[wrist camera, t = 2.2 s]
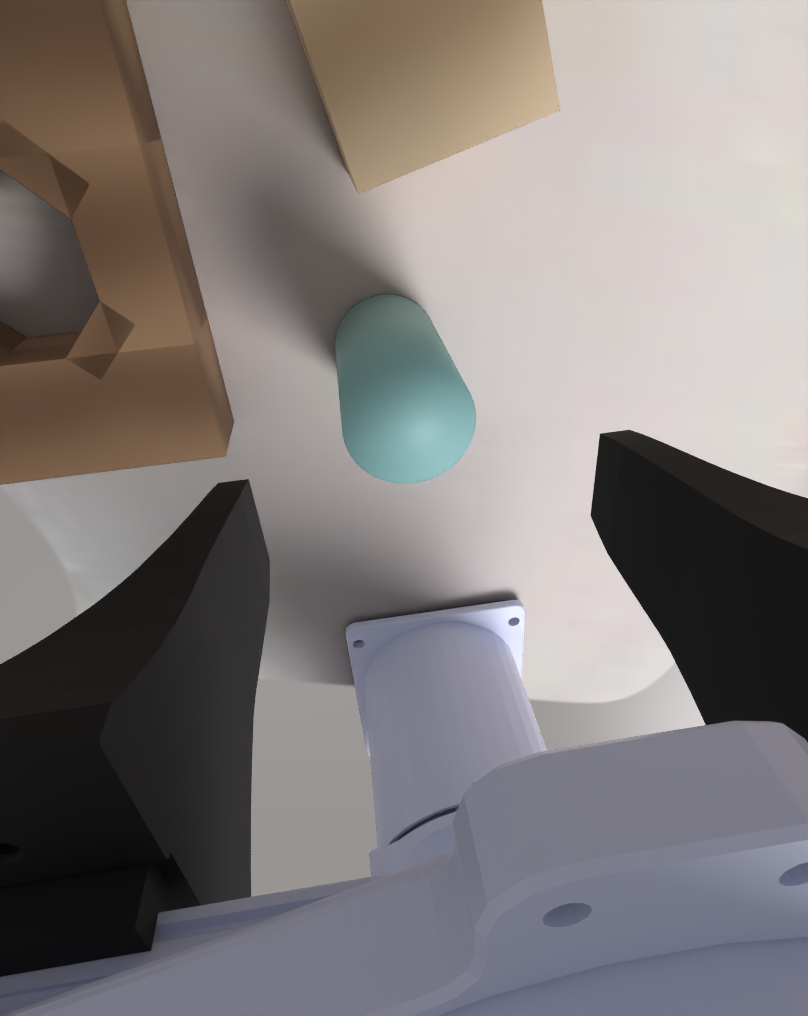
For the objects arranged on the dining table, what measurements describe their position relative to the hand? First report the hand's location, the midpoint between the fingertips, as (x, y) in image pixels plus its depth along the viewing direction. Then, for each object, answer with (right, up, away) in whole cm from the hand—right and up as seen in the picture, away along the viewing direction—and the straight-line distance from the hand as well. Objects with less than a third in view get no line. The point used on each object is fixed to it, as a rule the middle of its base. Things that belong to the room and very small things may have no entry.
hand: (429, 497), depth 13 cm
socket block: (-11, +7, +5) cm, 14 cm away
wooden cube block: (-1, +12, +3) cm, 12 cm away
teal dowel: (-1, +5, +8) cm, 9 cm away
